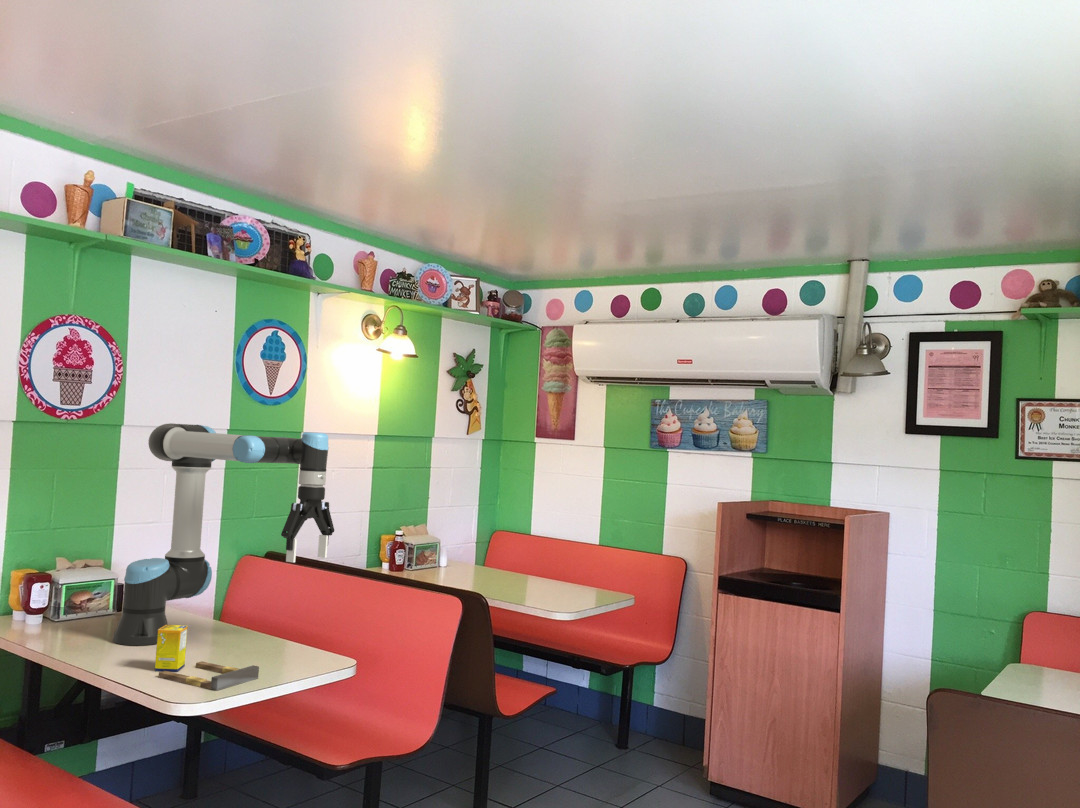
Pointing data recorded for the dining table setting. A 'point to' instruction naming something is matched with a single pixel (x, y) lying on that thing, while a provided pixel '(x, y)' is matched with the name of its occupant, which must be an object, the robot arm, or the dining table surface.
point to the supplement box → (171, 648)
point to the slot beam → (218, 682)
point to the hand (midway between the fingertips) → (306, 559)
